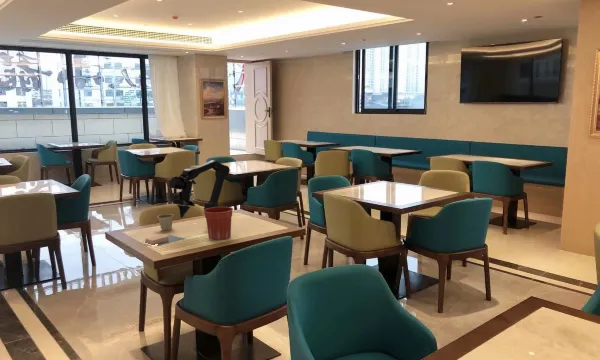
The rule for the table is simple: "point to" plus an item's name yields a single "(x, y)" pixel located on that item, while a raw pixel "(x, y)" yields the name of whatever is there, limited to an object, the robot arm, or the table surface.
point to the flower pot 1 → (165, 221)
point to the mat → (171, 240)
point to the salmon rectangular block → (156, 239)
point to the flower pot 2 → (218, 222)
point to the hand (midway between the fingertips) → (181, 217)
